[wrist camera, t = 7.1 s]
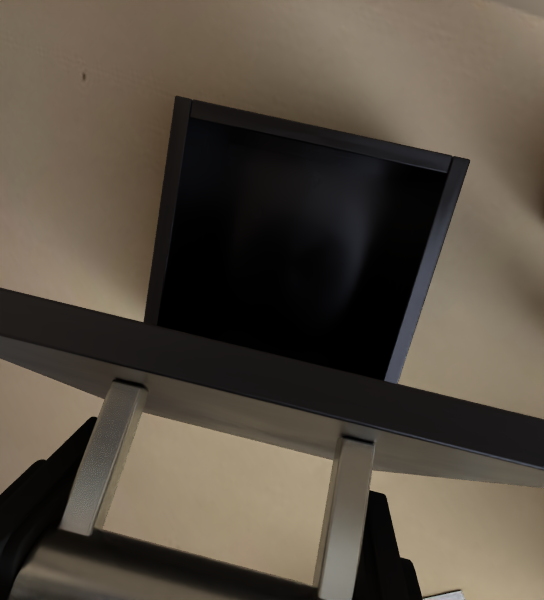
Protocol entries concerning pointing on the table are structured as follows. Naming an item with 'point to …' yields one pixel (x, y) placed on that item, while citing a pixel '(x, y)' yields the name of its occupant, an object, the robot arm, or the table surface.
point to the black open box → (298, 237)
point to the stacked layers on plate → (448, 596)
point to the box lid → (244, 423)
